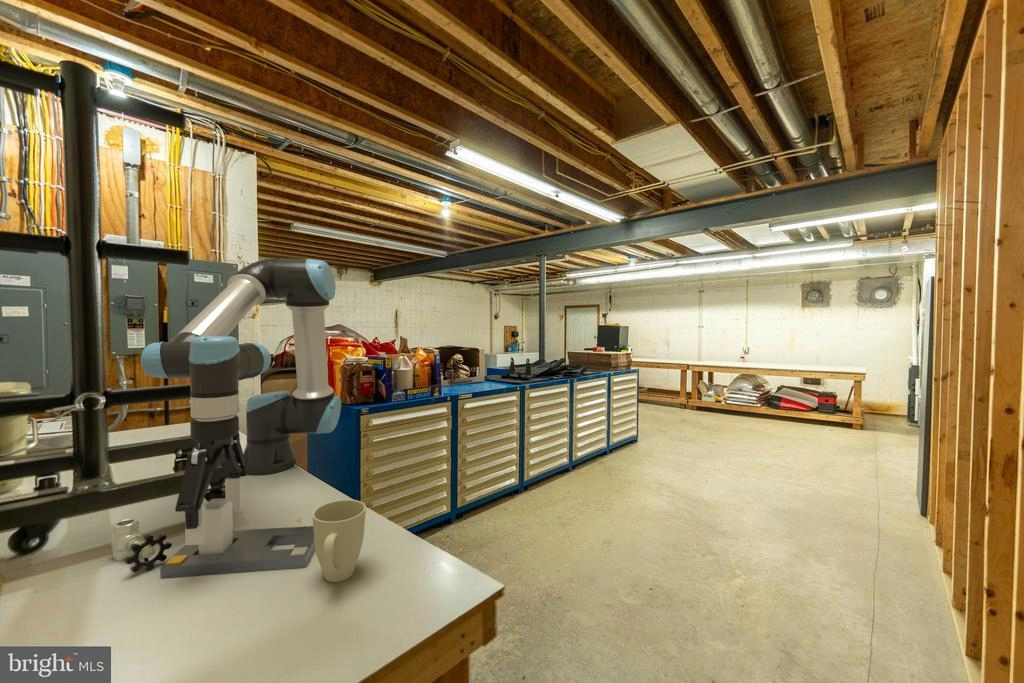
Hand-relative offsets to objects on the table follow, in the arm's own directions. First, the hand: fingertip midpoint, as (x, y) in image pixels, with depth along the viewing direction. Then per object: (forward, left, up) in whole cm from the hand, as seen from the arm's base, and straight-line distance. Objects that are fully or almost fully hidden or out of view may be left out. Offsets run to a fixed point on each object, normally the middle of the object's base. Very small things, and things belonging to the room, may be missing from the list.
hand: (216, 525), depth 79 cm
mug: (+10, +25, -7) cm, 28 cm away
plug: (0, 0, -6) cm, 6 cm away
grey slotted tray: (0, +6, -6) cm, 9 cm away
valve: (0, -14, -7) cm, 15 cm away
